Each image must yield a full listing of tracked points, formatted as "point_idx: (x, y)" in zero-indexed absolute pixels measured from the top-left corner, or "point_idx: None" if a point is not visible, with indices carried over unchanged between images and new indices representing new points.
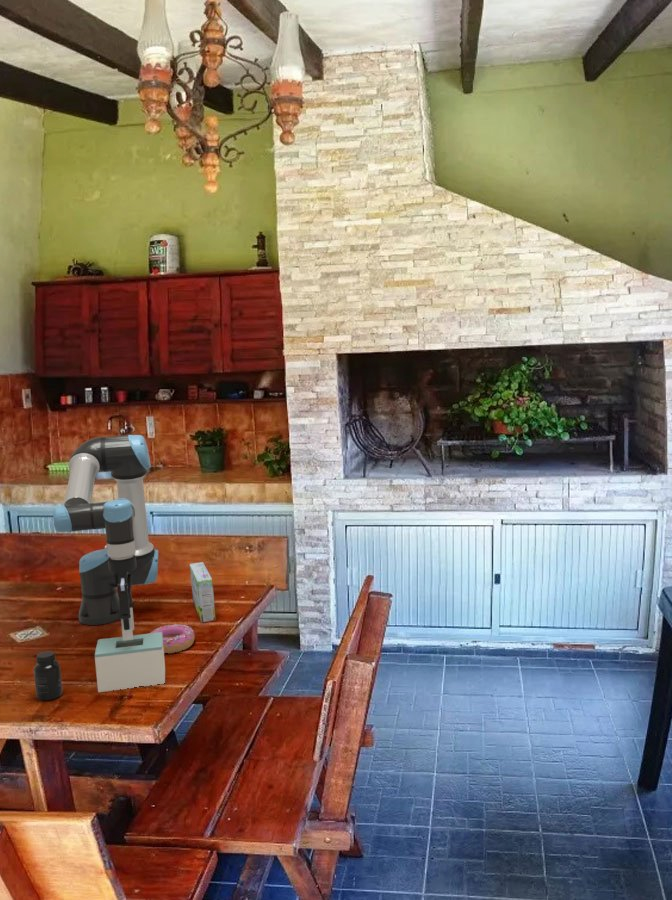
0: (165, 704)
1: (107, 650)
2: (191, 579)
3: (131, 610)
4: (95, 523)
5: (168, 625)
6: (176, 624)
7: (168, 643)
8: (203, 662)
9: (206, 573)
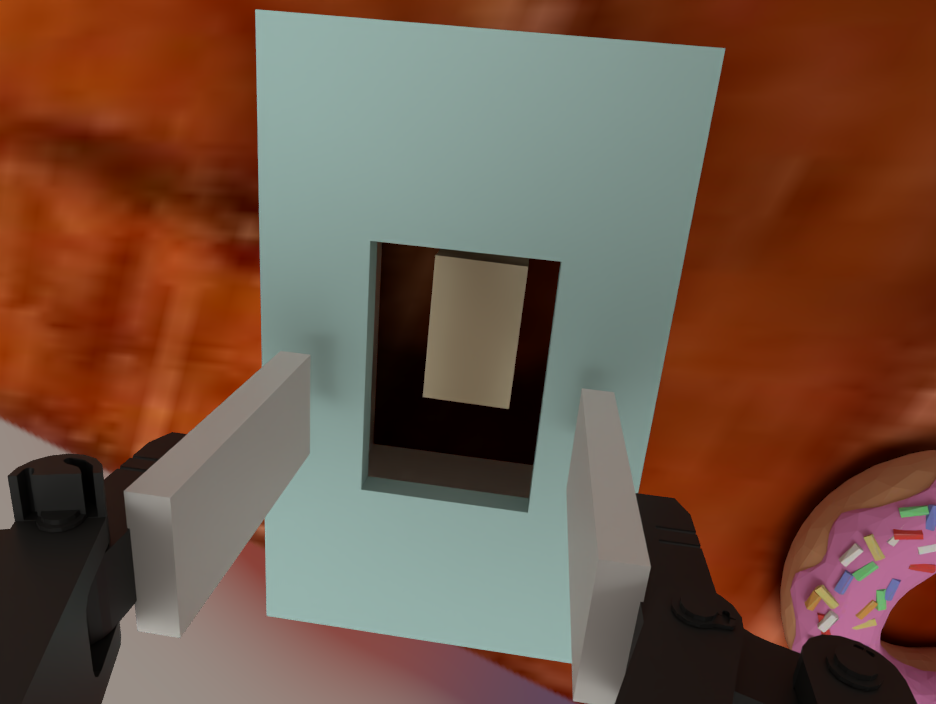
0: (109, 427)
1: (330, 158)
2: None
3: (577, 657)
4: None
5: None
6: None
7: (811, 588)
8: (561, 674)
9: None
